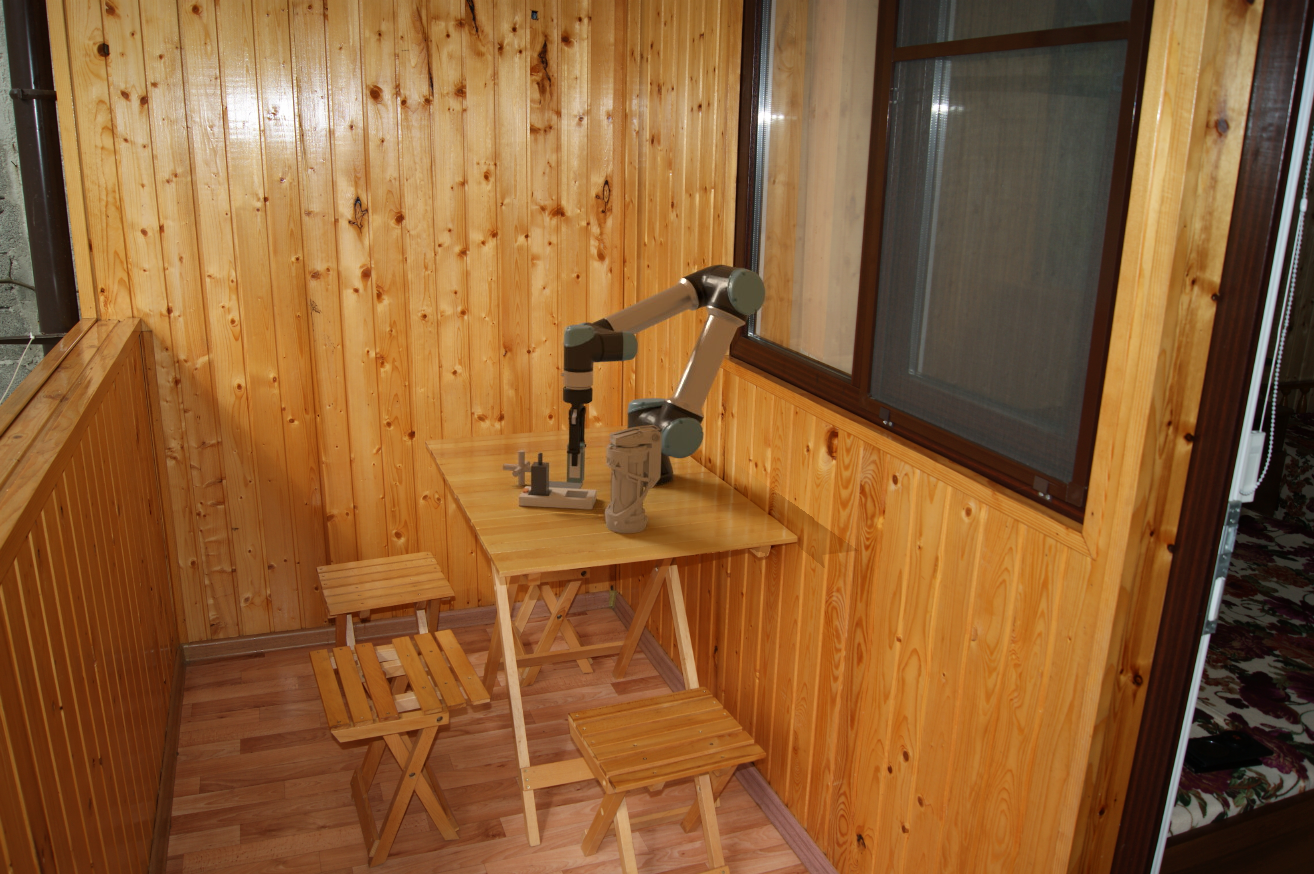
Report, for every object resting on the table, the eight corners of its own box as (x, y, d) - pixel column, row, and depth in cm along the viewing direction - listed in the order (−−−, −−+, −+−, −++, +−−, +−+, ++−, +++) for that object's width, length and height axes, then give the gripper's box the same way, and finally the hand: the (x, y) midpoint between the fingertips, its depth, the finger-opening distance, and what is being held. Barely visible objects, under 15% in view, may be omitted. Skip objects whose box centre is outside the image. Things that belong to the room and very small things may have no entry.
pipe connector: (533, 493, 280) (533, 457, 277) (498, 489, 282) (497, 454, 279) (544, 482, 289) (544, 447, 287) (510, 479, 291) (510, 444, 289)
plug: (584, 478, 271) (585, 441, 269) (582, 483, 267) (583, 445, 265) (568, 477, 272) (569, 440, 269) (566, 482, 268) (567, 445, 265)
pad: (583, 484, 289) (583, 482, 289) (577, 495, 279) (577, 493, 279) (547, 482, 289) (547, 480, 289) (541, 493, 280) (541, 491, 280)
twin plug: (548, 498, 274) (549, 451, 270) (546, 503, 270) (546, 455, 266) (533, 498, 274) (534, 450, 270) (531, 502, 270) (531, 454, 267)
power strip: (596, 500, 275) (596, 488, 274) (591, 511, 267) (592, 498, 266) (525, 496, 277) (525, 484, 276) (518, 507, 268) (518, 494, 267)
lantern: (612, 535, 250) (614, 435, 244) (599, 521, 260) (601, 424, 253) (662, 530, 255) (666, 432, 248) (648, 517, 264) (651, 421, 258)
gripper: (568, 379, 272) (566, 464, 278) (557, 392, 255) (556, 483, 261) (596, 380, 271) (594, 466, 277) (587, 394, 255) (585, 485, 261)
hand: (576, 474), depth 269 cm, fingers closed on plug, 4 cm apart
